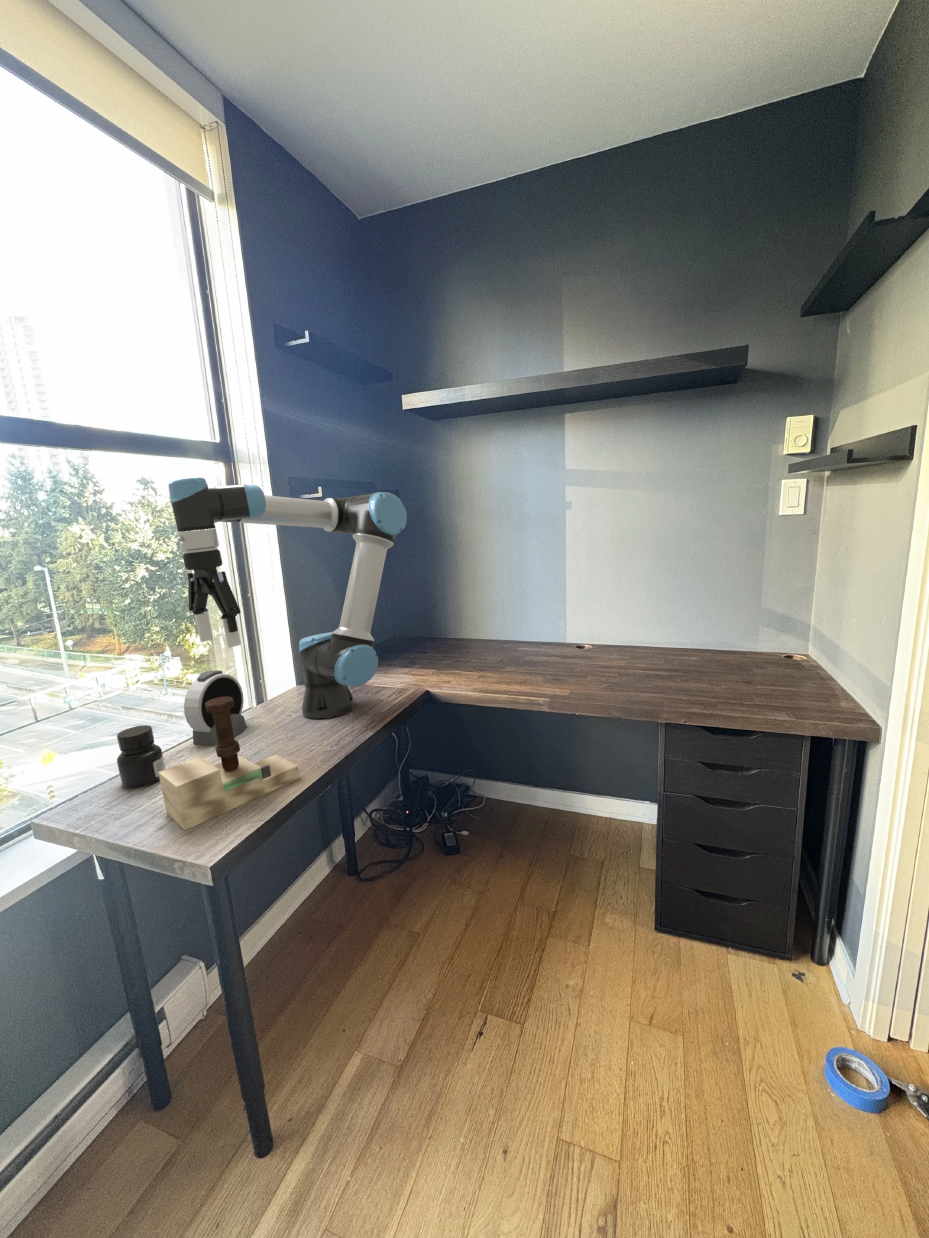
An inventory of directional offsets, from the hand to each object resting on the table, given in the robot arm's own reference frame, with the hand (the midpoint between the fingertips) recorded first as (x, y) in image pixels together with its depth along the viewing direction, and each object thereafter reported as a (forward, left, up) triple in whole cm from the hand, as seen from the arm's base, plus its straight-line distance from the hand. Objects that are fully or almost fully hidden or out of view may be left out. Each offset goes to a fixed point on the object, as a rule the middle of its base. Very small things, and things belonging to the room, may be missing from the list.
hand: (220, 643), depth 121 cm
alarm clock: (-4, -23, -30) cm, 38 cm away
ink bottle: (+18, -12, -30) cm, 37 cm away
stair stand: (+8, +14, -30) cm, 34 cm away
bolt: (+8, +14, -24) cm, 29 cm away
